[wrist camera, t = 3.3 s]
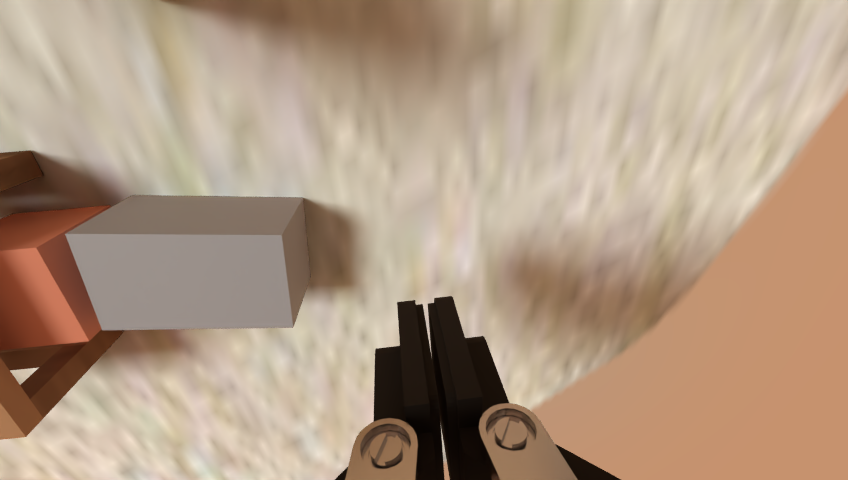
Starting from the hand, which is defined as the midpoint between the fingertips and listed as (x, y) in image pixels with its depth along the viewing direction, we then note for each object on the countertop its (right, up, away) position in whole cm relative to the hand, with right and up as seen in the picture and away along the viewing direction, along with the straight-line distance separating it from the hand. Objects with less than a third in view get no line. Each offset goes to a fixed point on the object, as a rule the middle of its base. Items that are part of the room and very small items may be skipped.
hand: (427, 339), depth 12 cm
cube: (-15, +3, +6) cm, 16 cm away
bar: (-9, +3, +6) cm, 11 cm away
